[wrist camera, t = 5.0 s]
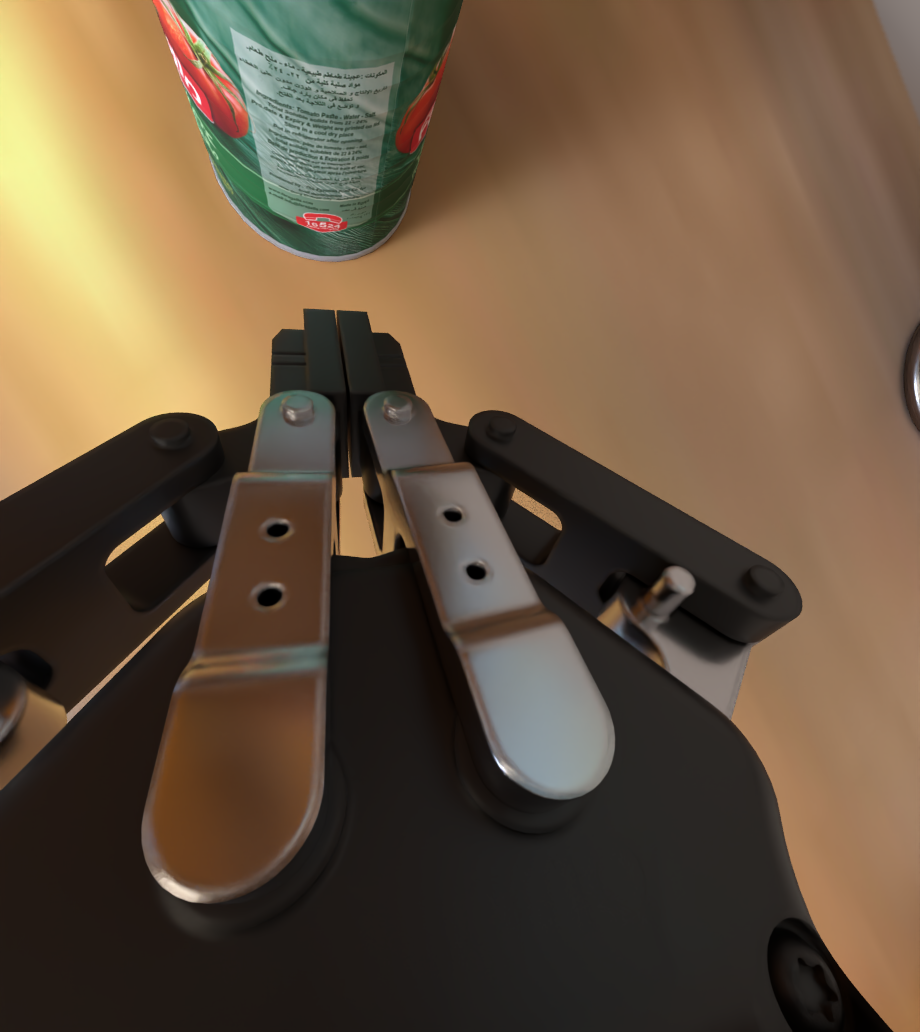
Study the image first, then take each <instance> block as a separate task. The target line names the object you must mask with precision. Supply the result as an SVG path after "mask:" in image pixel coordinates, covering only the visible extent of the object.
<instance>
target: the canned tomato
mask: <svg viewBox="0 0 920 1032" xmlns="http://www.w3.org/2000/svg"><path fill="white" fill-rule="evenodd" d="M152 1H153V3H154V5H155V8H156V11H157V14H158V17H159V20H160V23H161V25H162V28H163V31H164V34H165V36H166V38H167V41H168V44H169V47H170V50H171V53H172V56H173V58H174V61H175V63H176V66H177V69H178V72H179V75H180V77H181V80H182V83H183V86H184V88H185V91H186V94H187V96H188V99H189V102H190V105H191V108H192V110H193V113H194V116H195V118H196V121H197V124H198V127H199V129H200V132H201V135H202V138H203V140H204V143H205V146H206V148H207V151H208V153H209V158H210V162H211V164H212V167H213V170H214V173H215V176H216V179H217V181H218V183H219V185H220V187H221V188H222V190H223V192H224V194H225V195H226V197H227V199H228V201H229V203H230V204H231V205H232V206H233V208H234V209H235V210H236V211H237V213H238V214H239V215H240V216H241V218H242V219H243V220H244V221H245V222H246V223H247V224H248V225H249V226H250V227H251V228H252V229H254V230H255V231H256V232H257V233H258V234H259V235H260V236H261V237H263V238H265V239H266V240H268V241H269V242H271V243H272V244H274V245H275V246H277V247H279V248H280V249H283V250H285V251H287V252H290V253H292V254H294V255H297V256H299V257H303V258H308V259H312V260H317V261H332V262H339V261H345V260H351V259H356V258H359V257H361V256H363V255H366V254H368V253H371V252H373V251H374V250H375V249H377V248H378V247H380V246H381V245H382V244H384V243H385V242H386V241H387V240H388V239H389V238H390V237H391V235H392V234H393V233H394V232H395V231H396V230H397V228H398V226H399V224H400V222H401V221H402V219H403V217H404V215H405V213H406V210H407V206H408V202H409V199H410V194H411V187H412V185H413V181H414V178H415V174H416V170H417V166H418V163H419V159H420V156H421V152H422V148H423V145H424V141H425V138H426V134H427V130H428V127H429V123H430V119H431V115H432V112H433V108H434V105H435V101H436V97H437V93H438V90H439V86H440V83H441V79H442V75H443V72H444V68H445V64H446V61H447V57H448V54H449V49H450V46H451V42H452V39H453V35H454V32H455V28H456V24H457V20H458V17H459V13H460V10H461V6H462V3H463V0H152Z"/></svg>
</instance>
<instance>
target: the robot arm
mask: <svg viewBox="0 0 920 1032" xmlns="http://www.w3.org/2000/svg"><path fill="white" fill-rule="evenodd" d="M303 311H304V330H294V329H282V330H281V331H280V332H279V333H278V334H277V335H276V336H275V337H274V338H273V339H272V359H271V363H272V365H271V384H270V397H269V398H268V399H266V400H265V401H264V402H263V404H262V405H261V408H260V412H259V417H258V419H256V420H255V421H253V422H251V423H248V424H246V425H243V426H239V427H235V428H231V429H226V430H222V431H217V428H216V426H215V425H214V424H213V423H212V422H211V421H210V420H209V419H207V418H205V417H203V416H200V415H196V414H192V413H167V414H161V415H157V416H154V417H151V418H148V419H146V420H144V421H142V422H140V423H138V424H136V425H135V426H133V427H131V428H129V429H128V430H126V431H124V432H122V433H120V434H119V435H117V436H115V437H113V438H112V439H110V440H108V441H106V442H105V443H103V444H101V445H99V446H97V447H96V448H94V449H92V450H90V451H89V452H87V453H85V454H83V455H82V456H80V457H78V458H76V459H74V460H73V461H71V462H69V463H67V464H66V465H64V466H62V467H60V468H59V469H57V470H55V471H53V472H51V473H50V474H48V475H46V476H44V477H43V478H41V479H39V480H37V481H36V482H34V483H32V484H30V485H28V486H27V487H25V488H23V489H21V490H20V491H18V492H16V493H14V494H12V495H11V496H9V497H7V498H5V499H4V500H2V501H0V1032H893V1031H892V1030H891V1029H890V1028H889V1026H888V1025H887V1024H886V1023H885V1022H884V1021H883V1020H882V1018H881V1017H880V1016H879V1015H878V1014H877V1013H876V1011H875V1010H874V1009H873V1008H872V1007H871V1006H870V1004H869V1003H868V1002H867V1001H866V1000H865V999H864V997H863V996H862V995H861V994H860V993H859V991H858V990H857V989H856V988H855V986H854V985H853V984H852V983H851V981H850V980H849V979H848V977H847V976H846V975H845V974H844V972H843V971H842V969H841V968H840V967H839V965H838V964H837V962H836V961H835V960H834V958H833V957H832V955H831V954H830V952H829V950H828V949H827V947H826V946H825V944H824V942H823V941H822V939H821V937H820V935H819V934H818V932H817V930H816V928H815V926H814V924H813V921H812V919H811V917H810V914H809V912H808V909H807V907H806V904H805V902H804V899H803V897H802V894H801V891H800V889H799V886H798V883H797V880H796V877H795V873H794V870H793V867H792V864H791V861H790V857H789V853H788V849H787V846H786V842H785V837H784V832H783V827H782V822H781V817H780V812H779V807H778V802H777V798H776V795H775V792H774V789H773V786H772V783H771V781H770V778H769V776H768V774H767V772H766V770H765V767H764V765H763V764H762V762H761V760H760V758H759V757H758V755H757V753H756V751H755V750H754V749H753V747H752V746H751V744H750V743H749V741H748V740H747V739H746V737H745V736H744V735H743V734H742V733H741V731H740V730H739V729H738V728H737V727H736V725H735V724H734V723H733V722H732V721H731V717H732V714H733V710H734V707H735V703H736V700H737V696H738V693H739V689H740V686H741V682H742V679H743V675H744V671H745V668H746V664H747V661H748V657H749V654H750V650H751V648H752V647H753V646H754V645H756V644H757V643H759V642H760V641H762V640H763V639H765V638H766V637H768V636H769V635H771V634H772V633H774V632H775V631H777V630H778V629H780V628H781V627H783V626H784V625H786V624H787V623H789V622H790V621H792V620H793V619H795V618H796V617H797V616H799V615H800V613H801V611H802V599H801V596H800V593H799V591H798V589H797V588H796V586H795V584H794V583H793V582H792V580H791V579H790V578H789V577H788V576H787V575H786V574H785V573H784V572H783V571H782V570H781V569H779V568H778V567H777V566H776V565H774V564H773V563H771V562H769V561H768V560H766V559H764V558H763V557H761V556H759V555H757V554H756V553H754V552H752V551H750V550H749V549H747V548H745V547H743V546H742V545H740V544H738V543H736V542H735V541H733V540H731V539H730V538H728V537H726V536H724V535H723V534H721V533H719V532H717V531H716V530H714V529H712V528H710V527H709V526H707V525H705V524H703V523H702V522H700V521H698V520H696V519H695V518H693V517H691V516H689V515H688V514H686V513H684V512H682V511H681V510H679V509H677V508H675V507H674V506H672V505H670V504H669V503H667V502H665V501H663V500H662V499H660V498H658V497H656V496H655V495H653V494H651V493H649V492H648V491H646V490H644V489H642V488H641V487H639V486H637V485H635V484H634V483H632V482H630V481H628V480H627V479H625V478H623V477H621V476H620V475H618V474H616V473H615V472H613V471H611V470H609V469H608V468H606V467H604V466H602V465H601V464H599V463H597V462H595V461H594V460H592V459H590V458H588V457H587V456H585V455H583V454H581V453H580V452H578V451H576V450H574V449H573V448H571V447H569V446H567V445H566V444H564V443H562V442H560V441H559V440H557V439H555V438H554V437H552V436H550V435H548V434H547V433H545V432H543V431H541V430H540V429H538V428H536V427H534V426H533V425H531V424H529V423H527V422H526V421H524V420H522V419H520V418H519V417H517V416H515V415H512V414H510V413H507V412H503V411H495V410H489V411H483V412H480V413H477V414H475V415H474V416H473V417H472V418H471V419H470V422H469V426H468V427H467V426H462V425H457V424H452V423H448V422H444V421H441V420H439V419H436V418H434V416H433V414H432V412H431V409H430V407H429V406H428V404H427V403H426V402H425V401H424V400H422V399H421V398H419V397H418V396H416V394H415V390H414V387H413V384H412V381H411V378H410V374H409V371H408V368H407V365H406V362H405V359H404V355H403V352H402V349H401V346H400V344H399V343H398V342H397V341H396V340H395V339H394V338H393V337H392V336H391V335H390V334H389V333H372V331H371V327H370V323H369V319H368V315H367V312H360V311H341V310H337V325H336V318H335V311H334V310H321V309H303ZM904 389H905V397H906V402H907V406H908V410H909V413H910V415H911V418H912V420H913V422H914V424H915V426H916V427H917V429H918V430H919V431H920V325H919V326H918V328H917V329H916V331H915V333H914V335H913V337H912V340H911V342H910V345H909V348H908V352H907V356H906V362H905V370H904ZM348 452H349V460H350V467H351V475H352V477H362V480H363V503H364V507H365V511H366V515H367V519H368V523H369V527H370V531H371V535H372V539H373V543H374V547H375V550H376V554H377V556H376V557H372V558H360V557H351V556H342V555H340V497H341V495H342V478H349V464H348ZM515 488H517V489H518V490H520V491H522V492H523V493H525V494H526V495H528V496H529V497H531V498H533V499H534V500H536V501H537V502H539V503H540V504H542V505H544V506H545V507H547V508H548V509H550V510H551V511H553V512H554V513H555V514H556V515H557V516H558V517H559V519H560V521H561V524H562V531H560V530H558V529H556V528H554V527H553V526H551V525H550V524H548V523H547V522H545V521H544V520H542V519H540V518H539V517H537V516H536V515H534V514H533V513H531V512H530V511H528V510H527V509H525V508H523V507H522V506H520V505H519V504H517V503H516V502H514V501H513V500H511V498H512V496H513V493H514V490H515ZM160 514H161V515H162V517H163V519H164V522H162V523H161V524H160V525H158V526H157V527H156V528H155V529H153V530H152V531H151V532H149V533H148V534H147V535H145V536H144V537H143V538H142V539H140V540H139V541H138V542H136V543H135V544H134V545H132V546H131V547H130V548H128V549H127V550H126V551H125V552H123V553H122V554H121V555H119V556H118V557H117V558H115V559H114V560H113V561H112V562H110V563H109V564H108V565H106V566H105V564H106V561H107V559H108V557H109V555H110V554H111V553H112V551H113V550H114V549H115V548H116V547H117V546H118V545H120V544H121V543H122V542H124V541H125V540H126V539H128V538H129V537H130V536H132V535H133V534H134V533H136V532H137V531H138V530H140V529H141V528H142V527H144V526H145V525H146V524H148V523H149V522H150V521H152V520H153V519H154V518H156V517H157V516H158V515H160ZM209 579H210V581H209V586H208V590H207V592H206V593H205V594H203V595H201V596H200V597H198V598H197V599H195V600H194V601H192V602H191V603H189V604H188V605H187V606H186V607H184V608H183V609H182V610H181V611H180V612H178V613H177V614H176V615H175V616H174V617H173V618H172V619H171V620H169V621H168V622H167V623H166V624H165V625H164V626H163V627H162V628H161V629H160V630H159V631H158V632H157V633H156V634H155V636H154V637H153V638H152V639H151V640H150V641H149V642H148V643H147V644H146V645H145V646H144V647H143V648H142V649H141V650H140V651H139V652H138V653H137V654H136V655H135V656H134V657H133V658H132V659H131V660H130V661H129V662H128V663H127V664H126V665H125V666H124V667H123V668H122V669H121V670H120V671H119V672H118V673H117V674H116V675H115V676H114V677H113V678H112V679H111V680H110V681H109V682H108V683H107V684H106V685H105V686H104V687H103V688H102V689H101V690H100V691H99V692H98V693H97V694H96V695H95V696H94V697H93V698H92V699H91V700H90V701H89V702H88V703H87V704H86V705H85V706H84V707H83V708H82V709H81V710H80V711H79V712H78V713H77V714H76V715H75V716H74V717H73V718H72V719H71V720H70V721H69V722H68V723H67V716H66V714H67V713H68V712H69V711H70V710H71V709H72V708H73V707H74V706H75V705H77V704H78V703H79V702H80V701H81V700H82V699H83V698H84V697H85V696H86V695H87V694H88V693H89V692H90V691H91V690H92V689H93V688H95V687H96V686H97V685H98V684H99V683H100V682H101V681H102V680H103V679H104V678H105V677H106V676H107V675H108V674H109V673H110V672H111V671H112V670H114V669H115V668H116V667H117V666H118V665H119V664H120V663H121V662H122V661H123V660H124V659H125V658H126V657H127V656H128V655H129V654H130V653H132V652H133V651H134V650H135V649H136V648H137V647H138V646H139V645H140V644H141V643H142V642H143V641H144V640H145V639H146V638H147V637H148V636H149V635H151V634H152V633H153V632H154V631H155V630H156V629H157V628H158V627H159V626H160V625H161V624H162V623H163V622H164V621H165V620H166V619H167V618H169V617H170V616H171V615H172V614H173V613H174V612H175V611H176V610H177V609H178V608H179V607H180V606H181V605H182V604H183V603H184V602H185V601H186V600H188V599H189V598H190V597H191V596H192V595H193V594H194V593H195V592H196V591H197V590H198V589H199V588H200V587H201V586H202V585H203V584H204V583H206V582H207V581H208V580H209Z"/></svg>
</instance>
